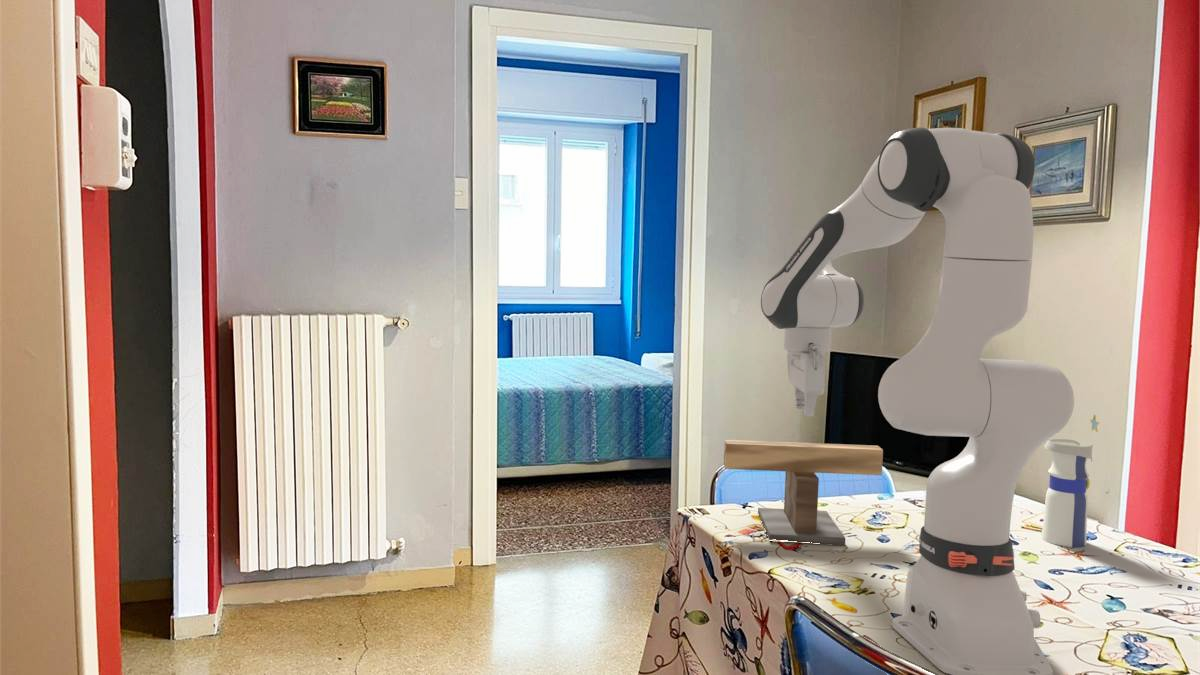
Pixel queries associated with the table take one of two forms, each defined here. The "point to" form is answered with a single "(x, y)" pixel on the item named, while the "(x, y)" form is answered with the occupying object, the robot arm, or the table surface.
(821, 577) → the table surface
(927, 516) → the robot arm
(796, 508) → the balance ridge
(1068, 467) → the water bottle
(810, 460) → the oak rod
